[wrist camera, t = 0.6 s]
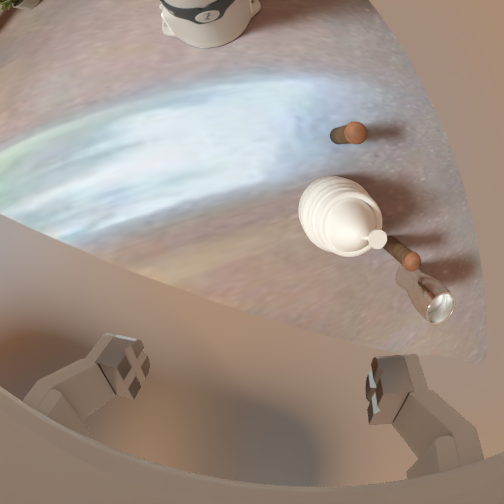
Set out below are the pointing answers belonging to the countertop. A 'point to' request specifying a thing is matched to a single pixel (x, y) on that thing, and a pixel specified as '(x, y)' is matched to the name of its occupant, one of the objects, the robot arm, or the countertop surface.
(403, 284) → the beer glass
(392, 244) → the post
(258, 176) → the countertop surface
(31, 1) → the house plant
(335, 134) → the post
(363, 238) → the honey pot
